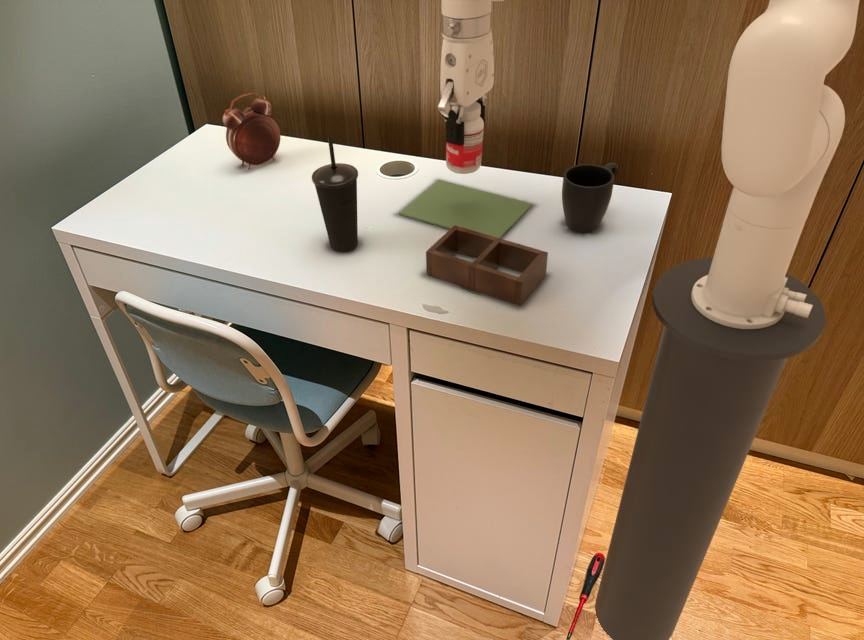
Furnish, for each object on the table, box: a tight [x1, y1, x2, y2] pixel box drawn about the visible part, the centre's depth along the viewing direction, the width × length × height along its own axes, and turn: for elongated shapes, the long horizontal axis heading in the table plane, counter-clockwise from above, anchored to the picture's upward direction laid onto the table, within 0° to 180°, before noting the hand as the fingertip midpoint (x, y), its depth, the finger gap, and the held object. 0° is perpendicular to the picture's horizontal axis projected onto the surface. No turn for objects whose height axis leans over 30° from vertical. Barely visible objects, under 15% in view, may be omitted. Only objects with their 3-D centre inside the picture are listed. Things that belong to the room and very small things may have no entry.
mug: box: [561, 162, 619, 234], centre depth 122 cm, size 8×12×10 cm
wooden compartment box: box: [425, 225, 549, 306], centre depth 114 cm, size 17×9×4 cm, turn 55°
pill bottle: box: [445, 102, 485, 175], centre depth 122 cm, size 6×6×11 cm
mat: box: [398, 179, 533, 239], centre depth 131 cm, size 20×14×1 cm
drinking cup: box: [311, 136, 359, 253], centre depth 119 cm, size 8×8×20 cm
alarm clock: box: [222, 91, 281, 170], centre depth 146 cm, size 11×5×15 cm, turn 124°
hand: (465, 134), depth 121 cm, fingers closed on pill bottle, 6 cm apart
